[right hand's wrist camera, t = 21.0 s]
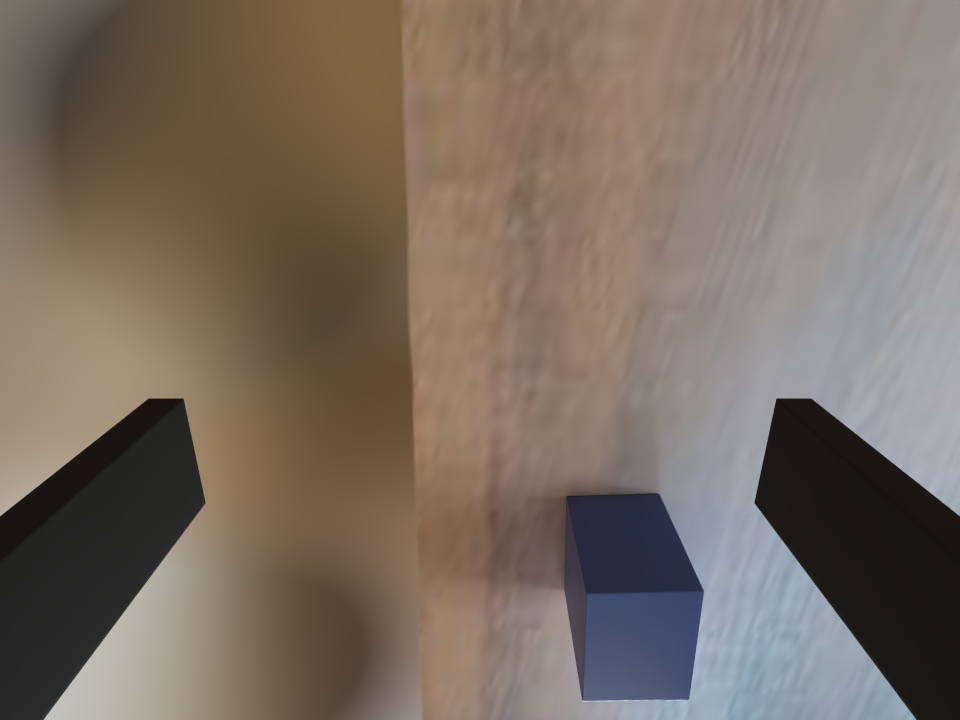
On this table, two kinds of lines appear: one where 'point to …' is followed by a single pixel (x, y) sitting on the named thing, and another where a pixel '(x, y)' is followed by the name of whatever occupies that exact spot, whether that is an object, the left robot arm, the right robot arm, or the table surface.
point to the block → (630, 599)
